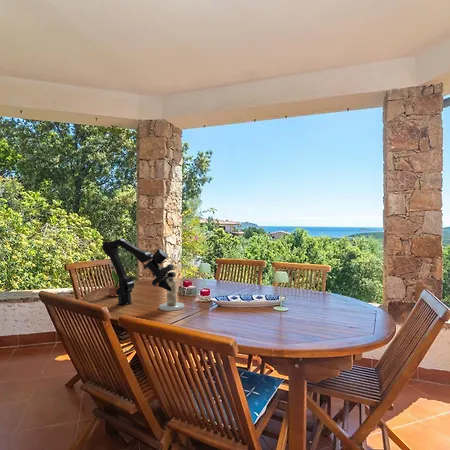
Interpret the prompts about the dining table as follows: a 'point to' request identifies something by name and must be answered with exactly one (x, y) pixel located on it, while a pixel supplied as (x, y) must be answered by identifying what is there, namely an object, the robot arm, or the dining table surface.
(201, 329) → the dining table surface
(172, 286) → the beige striped cylinder
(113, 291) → the potted flower
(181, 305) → the plate
